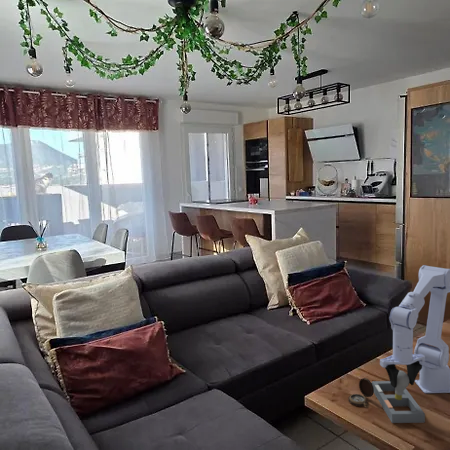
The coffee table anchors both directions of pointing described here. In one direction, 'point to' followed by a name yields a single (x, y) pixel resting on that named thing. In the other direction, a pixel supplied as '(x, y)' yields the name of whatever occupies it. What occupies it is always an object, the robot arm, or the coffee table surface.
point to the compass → (365, 389)
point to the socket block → (398, 404)
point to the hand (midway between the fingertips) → (402, 384)
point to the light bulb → (401, 384)
